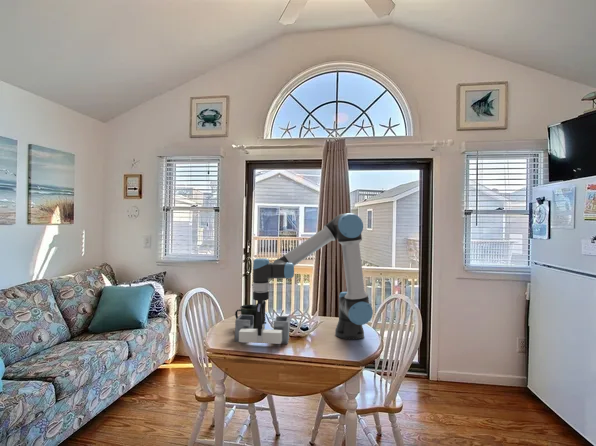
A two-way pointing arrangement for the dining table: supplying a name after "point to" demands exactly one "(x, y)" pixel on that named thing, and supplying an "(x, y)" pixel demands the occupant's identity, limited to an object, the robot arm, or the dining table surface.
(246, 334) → the rail
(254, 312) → the mug
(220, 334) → the dining table surface
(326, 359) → the dining table surface
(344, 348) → the dining table surface
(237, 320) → the brackets
